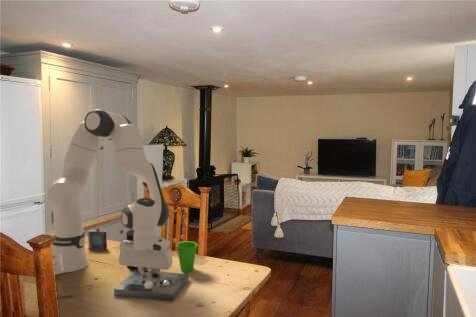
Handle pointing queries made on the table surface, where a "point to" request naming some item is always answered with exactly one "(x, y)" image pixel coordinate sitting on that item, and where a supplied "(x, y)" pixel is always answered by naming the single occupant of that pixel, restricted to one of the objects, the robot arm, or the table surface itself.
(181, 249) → the cup
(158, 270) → the wood ball
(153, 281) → the plate
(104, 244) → the flask
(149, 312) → the table surface
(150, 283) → the plastic ball
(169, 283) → the steel ball
